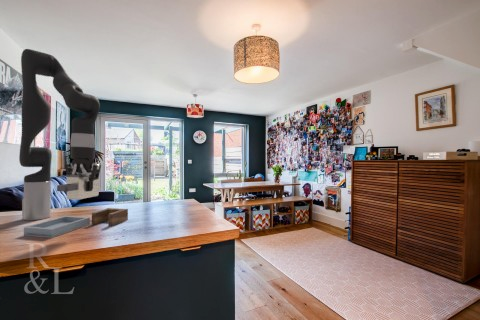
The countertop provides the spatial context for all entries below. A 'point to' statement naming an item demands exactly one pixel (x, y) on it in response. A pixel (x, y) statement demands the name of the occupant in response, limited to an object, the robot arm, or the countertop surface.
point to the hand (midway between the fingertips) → (82, 190)
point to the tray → (56, 226)
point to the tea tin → (78, 187)
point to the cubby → (110, 216)
